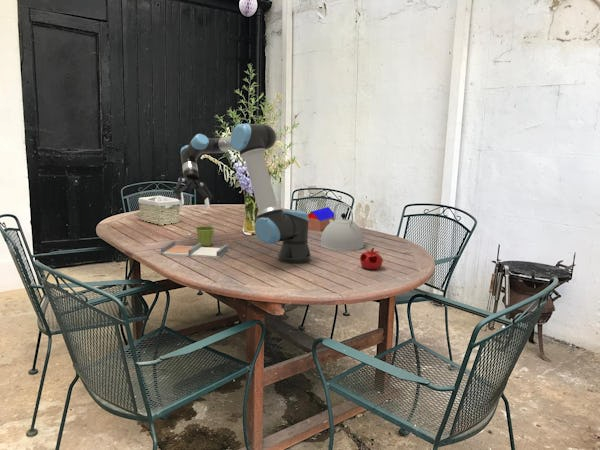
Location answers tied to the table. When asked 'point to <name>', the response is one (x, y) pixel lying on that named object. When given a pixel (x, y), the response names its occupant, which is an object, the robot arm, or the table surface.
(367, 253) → the pomegranate
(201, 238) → the plant pot
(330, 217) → the house
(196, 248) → the slot board
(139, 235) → the table surface
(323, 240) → the kettle
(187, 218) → the table surface
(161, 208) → the storage basket
